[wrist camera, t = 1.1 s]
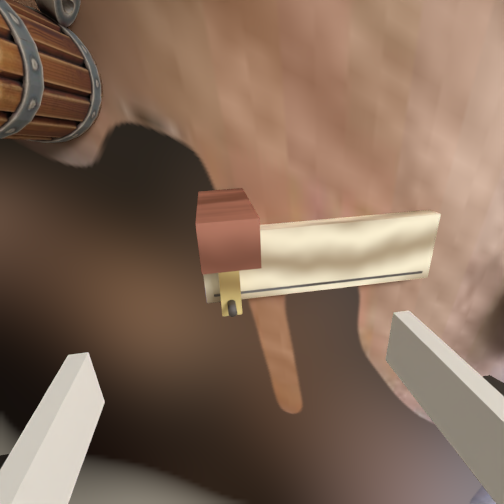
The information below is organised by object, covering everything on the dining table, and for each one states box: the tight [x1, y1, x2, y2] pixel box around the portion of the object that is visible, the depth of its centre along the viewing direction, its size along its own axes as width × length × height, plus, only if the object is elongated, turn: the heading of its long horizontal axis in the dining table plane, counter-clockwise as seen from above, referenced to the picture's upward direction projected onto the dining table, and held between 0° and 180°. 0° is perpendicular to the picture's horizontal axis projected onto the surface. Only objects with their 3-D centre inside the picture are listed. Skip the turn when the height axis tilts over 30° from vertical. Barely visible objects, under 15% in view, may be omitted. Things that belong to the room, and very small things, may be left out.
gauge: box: [195, 188, 262, 317], centre depth 32 cm, size 14×5×12 cm, turn 3°
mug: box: [0, 0, 103, 143], centre depth 21 cm, size 16×11×15 cm
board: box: [203, 210, 441, 303], centre depth 39 cm, size 9×30×2 cm, turn 93°
